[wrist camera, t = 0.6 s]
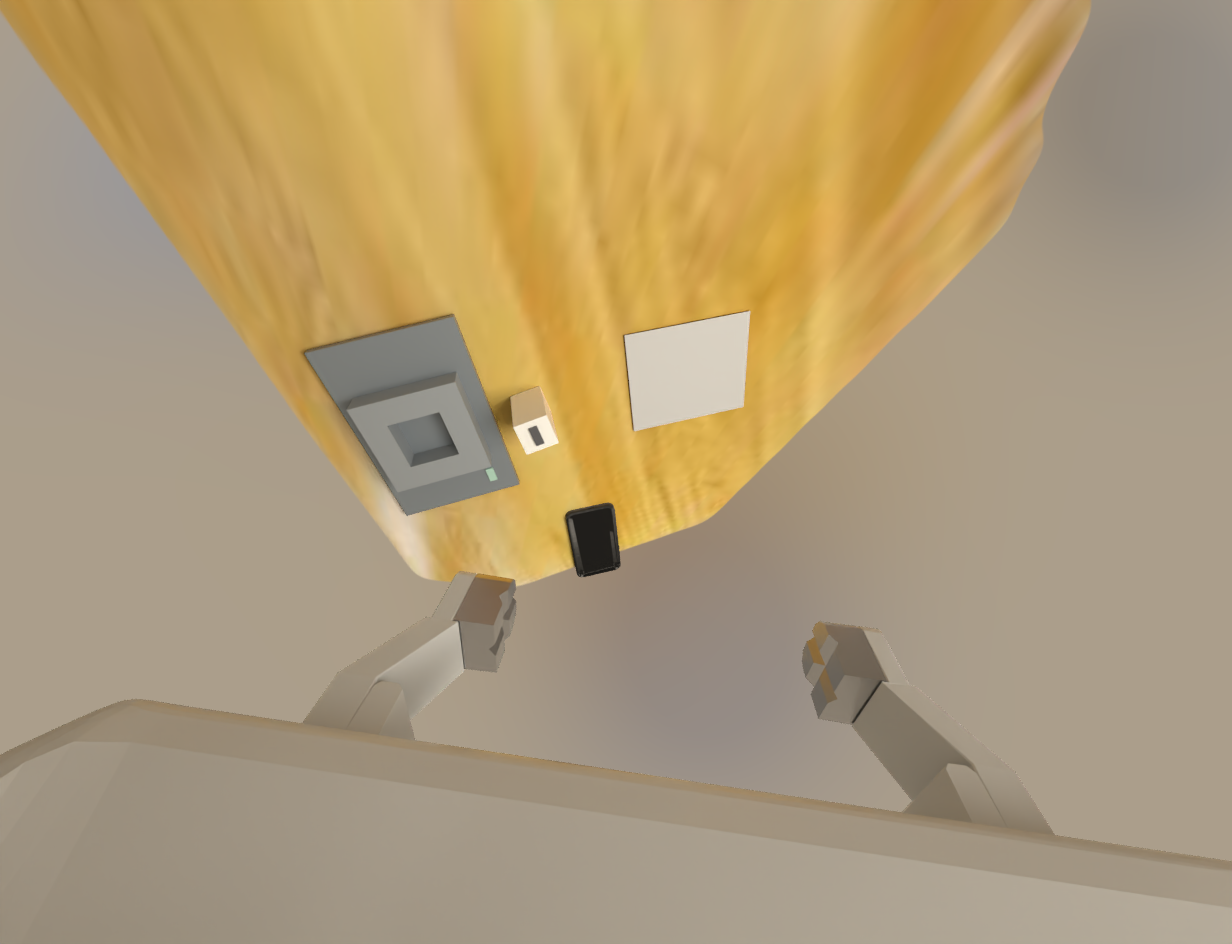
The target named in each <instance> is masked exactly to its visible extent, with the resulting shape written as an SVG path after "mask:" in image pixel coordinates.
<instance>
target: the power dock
mask: <svg viewBox="0 0 1232 944" xmlns="http://www.w3.org/2000/svg"><path fill="white" fill-rule="evenodd" d="M304 354H305V356H306V357H307V359H308V360H309V362H310V363H311V365H312V367H313V368H314V370H315V371H316V373H317V374H318V376H319V378H320V379H321V381H322V382H323V384H324V386H325V387H326V389H327V390H328V392H329V393H330V395H331V397H332V398H333V400H334V401H335V403H336V404H337V406H338V408H339V409H340V411H341V412H342V414H343V416H344V417H345V419H346V420H347V422H348V423H349V425H350V427H351V428H352V430H353V431H354V433H355V435H356V436H357V438H358V439H359V441H360V442H361V444H362V446H363V447H364V449H365V450H366V452H367V453H368V455H369V457H370V458H371V460H372V461H373V463H374V465H375V466H376V468H377V469H378V471H379V472H380V474H381V476H382V477H383V479H384V480H385V482H386V484H387V485H388V487H389V488H390V490H391V491H392V493H393V495H394V496H395V498H396V499H397V501H398V502H399V504H400V506H401V507H402V509H403V510H404V512H405V514H406V515H407V516H408V515H411V514H415V513H419V512H422V511H426V510H429V509H433V508H436V507H440V506H444V505H447V504H451V503H454V502H458V501H461V500H465V499H469V498H472V497H476V496H479V495H483V494H486V493H490V492H493V491H497V490H501V489H504V488H508V487H511V486H515V485H518V484H519V479H518V476H517V474H516V471H515V469H514V466H513V463H512V461H511V458H510V456H509V453H508V451H507V448H506V446H505V443H504V441H503V438H502V435H501V433H500V430H499V428H498V425H497V423H496V420H495V418H494V415H493V412H492V410H491V407H490V405H489V402H488V400H487V397H486V395H485V392H484V390H483V387H482V384H481V382H480V379H479V377H478V374H477V372H476V369H475V367H474V364H473V361H472V359H471V356H470V354H469V351H468V349H467V346H466V344H465V341H464V339H463V336H462V333H461V331H460V328H459V326H458V323H457V321H456V318H455V316H454V314H452V315H448V316H444V317H440V318H436V319H432V320H428V321H424V322H420V323H416V324H412V325H407V326H403V327H399V328H395V329H391V330H387V331H383V332H379V333H375V334H371V335H367V336H363V337H358V338H354V339H350V340H346V341H342V342H338V343H334V344H330V345H326V346H322V347H318V348H313V349H309V350H307V351H306V352H305V353H304Z"/></svg>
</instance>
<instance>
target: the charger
mask: <svg viewBox="0 0 1232 944" xmlns="http://www.w3.org/2000/svg"><path fill="white" fill-rule="evenodd" d="M510 399H511V410H512V421H513V428H514V430H515V432H516V434H517V436H518V438H519V440H520V442H521V444H522V446H523V448H524V450H525V452H526V454H527V455H528V454H530V453H533V452H536V451H538V450H541V449H544V448H546V447H549V446H552V445H554V444H557V443H559V442H558V438H557V434H556V429H555V425H554V421H553V417H552V413H551V410H550V408H549V406H548V403H547V401H546V399H545V396H544V394H543V392H542V389H541V387H540V386H538V387H535V388H532V389H530V390H527V391H524V392H521V393H519V394H516V395H513V396H511V397H510Z"/></svg>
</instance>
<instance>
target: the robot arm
mask: <svg viewBox="0 0 1232 944" xmlns="http://www.w3.org/2000/svg"><path fill="white" fill-rule="evenodd" d="M515 590H516V584H515V580H514V579H509V578H503V577H497V576H490V575H484V574H476V573H470V572H464V571H459V572H458V573H457V574H456V575H455V577H454V578H453V580H452V582H451V584H450V586H449V587H448V589H447V591H446V593H445V594H444V596H443V598H442V600H441V602H440V603H439V605H438V607H437V609H436V611H435V612H434V614H433V616H432V617H431V618H430V617H425V618H424V619H422V620H420V621H419V622H417V623H416V624H414V625H412V626H411V627H409V628H408V629H406V630H405V631H403V632H401V633H400V634H398V635H397V636H395V637H393V638H392V639H390V640H389V641H387V642H385V643H384V644H383V645H381V646H379V647H377V648H376V649H374V650H373V651H371V652H370V653H368V654H367V655H365V656H363V657H362V658H360V659H358V660H357V661H356V662H354V663H352V664H351V665H349V666H347V667H346V668H344V669H343V670H341V671H340V672H338V673H337V674H336V676H335V677H334V679H333V680H332V681H331V683H330V684H329V686H328V687H327V688H326V690H325V691H324V693H323V694H322V696H321V697H320V698H319V700H318V701H317V703H316V704H315V706H314V707H313V708H312V710H311V711H310V713H309V714H308V716H307V717H306V718H305V720H304V721H303V723H296V722H290V721H282V720H276V719H269V718H262V717H256V716H249V715H243V714H236V713H229V712H222V711H216V710H209V709H202V708H195V707H189V706H182V705H176V704H170V703H164V702H157V701H151V700H142V699H131V700H124V701H120V702H117V703H114V704H111V705H109V706H106V707H104V708H101V709H99V710H96V711H94V712H91V713H89V714H87V715H85V716H82V717H80V718H78V719H76V720H73V721H71V722H69V723H67V724H64V725H62V726H60V727H58V728H56V729H53V730H51V731H49V732H47V733H45V734H43V735H41V736H38V737H36V738H34V739H32V740H30V741H28V742H26V743H23V744H21V745H19V746H17V747H15V748H13V749H11V750H9V751H7V752H5V753H3V754H1V755H0V944H1232V861H1226V860H1220V859H1213V858H1206V857H1200V856H1193V855H1186V854H1179V853H1172V852H1166V851H1158V850H1151V849H1145V848H1139V847H1131V846H1125V845H1118V844H1112V843H1105V842H1098V841H1091V840H1084V839H1078V838H1071V837H1064V836H1058V835H1055V834H1054V833H1053V831H1052V829H1051V828H1050V826H1049V825H1048V823H1047V822H1046V820H1045V818H1044V817H1043V815H1042V813H1041V812H1040V810H1039V809H1038V807H1037V806H1036V804H1035V802H1034V801H1033V799H1032V798H1031V796H1030V794H1029V793H1028V791H1027V790H1026V788H1025V787H1024V785H1023V783H1022V782H1021V780H1020V778H1019V777H1018V775H1017V774H1016V772H1015V771H1014V770H1013V769H1012V768H1010V767H1009V766H1008V765H1007V764H1006V763H1005V762H1003V761H1002V760H1001V759H1000V758H999V757H998V756H996V755H995V754H994V753H993V752H992V751H991V750H989V749H988V748H987V747H986V746H985V745H984V744H982V743H981V742H980V741H979V740H978V739H977V738H975V737H974V736H973V735H972V734H971V733H970V732H969V731H967V730H966V729H965V728H964V727H963V726H962V725H960V724H959V723H958V722H957V721H956V720H955V719H953V718H952V717H951V716H950V715H949V714H948V713H946V712H945V711H944V710H943V709H942V708H941V707H939V706H938V705H937V704H936V703H935V702H933V701H932V700H931V699H930V698H929V697H928V696H927V695H925V694H924V693H923V692H922V691H921V690H920V689H918V688H917V687H916V686H911V685H909V683H908V681H907V679H906V677H905V675H904V673H903V672H902V670H901V667H900V666H899V664H898V662H897V660H896V658H895V656H894V654H893V652H892V650H891V649H890V647H889V645H888V643H887V641H886V639H885V637H884V635H883V634H882V632H881V631H880V630H879V629H875V628H868V627H860V626H853V625H845V624H837V623H830V622H822V621H819V622H818V623H816V624H815V626H814V628H813V630H812V631H813V634H814V638H812V639H811V640H809V641H807V643H806V645H805V647H804V649H803V657H802V664H803V670H804V673H805V677H806V679H807V680H808V681H809V682H810V683H811V684H812V685H813V686H814V688H813V690H812V693H811V696H812V700H813V703H814V706H815V709H816V712H817V716H818V719H823V720H828V721H834V722H840V723H846V724H851V725H852V727H853V728H854V729H855V731H856V732H857V733H858V735H859V736H860V737H861V738H862V740H863V741H864V742H865V743H866V744H867V745H868V747H869V748H870V749H871V751H872V752H873V753H874V754H875V756H876V757H877V758H878V759H879V760H880V762H881V763H882V764H883V765H884V767H885V768H886V769H887V770H888V771H889V773H890V774H891V775H892V776H893V778H894V779H895V780H896V781H897V783H898V784H899V785H900V786H901V787H902V789H903V790H904V791H905V793H906V794H907V795H908V796H909V798H910V799H911V800H912V802H911V803H910V804H909V805H908V806H907V807H906V808H905V809H904V810H903V811H902V812H896V811H889V810H882V809H876V808H868V807H862V806H855V805H849V804H842V803H835V802H828V801H822V800H814V799H808V798H801V797H795V796H788V795H781V794H774V793H767V792H761V791H754V790H747V789H740V788H734V787H727V786H720V785H714V784H706V783H699V782H693V781H686V780H680V779H672V778H666V777H659V776H652V775H645V774H638V773H632V772H625V771H619V770H612V769H605V768H598V767H592V766H585V765H578V764H571V763H565V762H558V761H551V760H544V759H538V758H530V757H524V756H518V755H511V754H504V753H497V752H490V751H484V750H477V749H471V748H464V747H457V746H450V745H444V744H436V743H430V742H423V741H416V740H415V738H414V734H413V730H412V726H411V722H410V720H411V719H412V718H413V717H414V716H415V715H416V714H418V713H419V712H420V711H421V710H422V709H423V708H424V707H425V706H426V705H427V704H428V703H429V702H431V701H432V700H433V699H434V698H435V697H436V696H437V695H438V694H439V693H440V692H442V691H443V690H444V689H445V688H446V687H447V686H448V685H449V684H450V683H451V682H453V681H454V680H455V679H456V678H457V677H458V676H459V675H460V674H461V673H462V672H463V671H464V669H471V670H480V671H489V672H497V670H498V668H499V665H500V662H501V659H502V656H503V654H504V651H505V647H504V646H505V644H504V640H505V639H506V638H508V637H509V636H510V634H511V631H512V628H513V624H514V619H515V614H516V600H515V599H514V598H513V596H514V593H515Z"/></svg>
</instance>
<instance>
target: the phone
mask: <svg viewBox="0 0 1232 944" xmlns="http://www.w3.org/2000/svg"><path fill="white" fill-rule="evenodd" d="M590 507H593V508H590ZM588 508H589V509H588ZM566 521H567V526H568V531H569V536H570V541H571V546H572V551H573V556H574V561H575V567H576V571H577V575H578V576H579V577H586V576H591V575H595V574H599V573H604V572H608V571H612V570H616V569H618V568H619V567H620V553H619V545H618V536H617V526H616V517H615V509H614V506H613V505H612V504H611V503H603V504H599V505H594V506H589V507H585V508H580V509H575V510H571V511H569V512H568V513H567V514H566Z"/></svg>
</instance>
